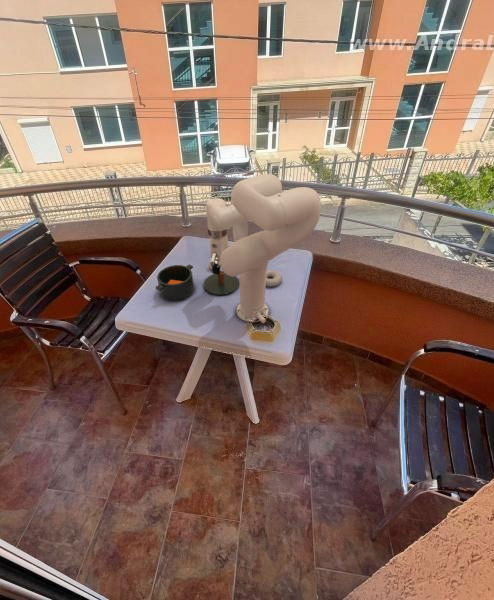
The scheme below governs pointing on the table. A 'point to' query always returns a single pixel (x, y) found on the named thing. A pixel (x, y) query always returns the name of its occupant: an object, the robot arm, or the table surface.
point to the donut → (275, 276)
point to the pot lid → (221, 284)
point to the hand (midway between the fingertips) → (220, 267)
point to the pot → (176, 290)
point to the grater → (240, 231)
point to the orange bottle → (174, 282)
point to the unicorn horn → (210, 263)
